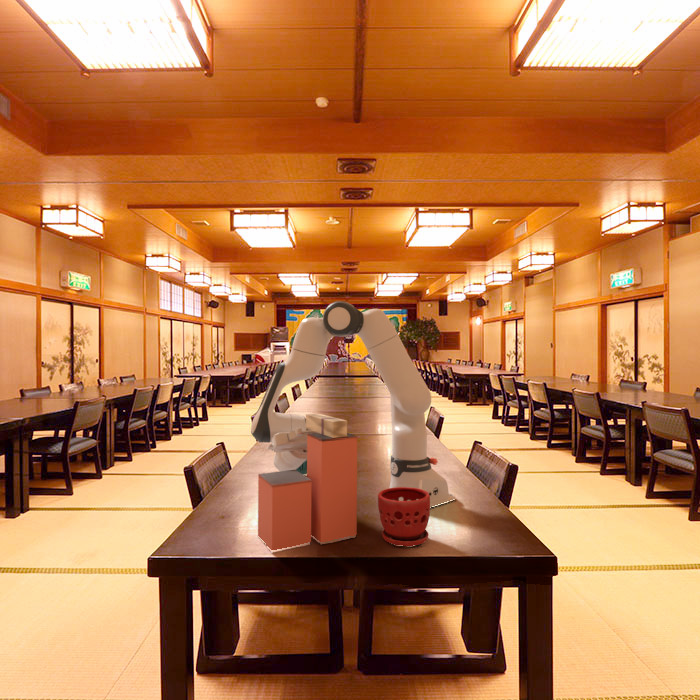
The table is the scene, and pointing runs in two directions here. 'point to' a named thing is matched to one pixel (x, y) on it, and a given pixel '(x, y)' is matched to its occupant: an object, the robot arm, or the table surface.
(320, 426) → the box
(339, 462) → the stand
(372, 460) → the table surface
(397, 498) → the plant pot
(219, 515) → the table surface
